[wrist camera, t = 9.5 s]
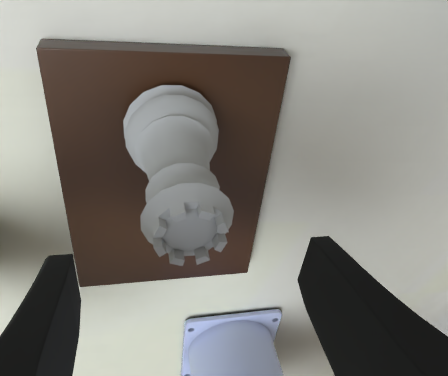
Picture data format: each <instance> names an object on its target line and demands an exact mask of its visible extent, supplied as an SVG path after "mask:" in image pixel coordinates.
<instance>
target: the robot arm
mask: <svg viewBox="0 0 448 376" xmlns="http://www.w3.org/2000/svg"><path fill="white" fill-rule="evenodd" d="M298 283H299V287H300V290H301V294H302V298H303V301H304V304H305V307H306V310H307V313H308V315H309V317H310V320H311V322H312V324H313V327H314V329H315V331H316V334H317V336H318V338H319V340H320V343H321V345H322V347H323V349H324V352H325V354H326V356H327V359H328V361H329V363H330V365H331V368H332V370H333V372H334V375H335V376H448V337H447V336H446V335H445V334H443V333H442V332H441V331H439V330H438V329H436V328H435V327H434V326H432V325H431V324H429V323H428V322H427V321H425V320H424V319H423V318H421V317H420V316H419V315H417V314H416V313H415V312H414V311H412V310H411V309H410V308H409V307H407V306H406V305H405V304H404V303H402V302H401V301H400V300H399V299H398V298H396V297H395V296H394V295H393V294H392V293H390V292H389V291H388V290H387V289H386V288H385V287H383V286H382V285H381V284H380V283H379V282H378V281H377V280H376V279H374V278H373V277H372V276H371V275H370V274H369V273H368V272H367V271H366V270H365V269H364V268H362V267H361V266H360V265H359V264H358V263H357V262H356V261H355V260H354V259H353V258H352V257H351V256H350V255H349V254H348V253H346V252H345V251H344V250H343V249H342V248H341V247H340V246H339V245H338V244H337V243H336V242H335V241H334V240H332V239H331V238H330V237H329V236H323V237H311V239H310V242H309V246H308V249H307V252H306V255H305V258H304V261H303V264H302V267H301V271H300V274H299V277H298ZM80 309H81V298H80V292H79V287H78V281H77V276H76V271H75V265H74V260H73V255H72V254H66V255H52V256H48V257H47V258H46V259H45V261H44V263H43V265H42V267H41V269H40V271H39V273H38V275H37V277H36V279H35V281H34V282H33V284H32V286H31V288H30V289H29V291H28V293H27V295H26V296H25V298H24V300H23V301H22V303H21V305H20V306H19V308H18V309H17V311H16V313H15V314H14V316H13V317H12V319H11V321H10V322H9V324H8V325H7V327H6V328H5V330H4V331H3V333H2V334H1V336H0V376H72V374H73V368H74V362H75V356H76V350H77V344H78V338H79V327H80ZM281 317H282V313H281V311H280V310H279V309H273V310H264V311H254V312H245V313H236V314H227V315H218V316H209V317H200V318H191V319H188V320H186V321H185V323H184V338H183V353H182V368H181V376H284V375H283V371H282V368H281V365H280V362H279V359H278V356H277V353H276V350H275V346H274V343H273V342H274V339H275V336H276V333H277V330H278V326H279V323H280V320H281Z"/></svg>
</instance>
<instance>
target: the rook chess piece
mask: <svg viewBox="0 0 448 376" xmlns="http://www.w3.org/2000/svg"><path fill="white" fill-rule="evenodd" d="M123 125H124V138H125V143H126V148H127V150H128V152H129V154H130V155H131V157H132V159H133V161H134V163H135V164H136V165H137V166H138V167H139V168H141V169H142V170H143V171H144V172H145V173H147V176H148V180H149V183H148V185H147V187H146V189H145V192H146V203H147V204H146V206H145V208H144V210H143V212H142V214H141V216H140V218H141V231H142V232H143V234H144V236H145V237H146V239H147V240H148V242H150V243H151V244H153V248H154V250H155V251H156V253H157V254H158V256H159V257H161V256H162V255H164V254H166V253H168V254H169V262H170V264H175V265H180V266H183V264H184V261H185V259H184V256H193V255H195V258H196V263H197V265H198V264H201V263H204V262H206V261H209V260H210V258H209V253H208V250H210V249H211V248H212V247H214V250H216V251H219V252H221V251H222V250H223V248H224V247H225V245H226V244H227V239H226V236H225V234H226V233H227V232H229V231H228V229H229V228H230V226H231V225H232V220H233V213H234V210H233V207H232V205H231V202H230V200H229V198H228V197H227V196H226V195H225V194H223V193H222V192H221V191H220V190H219V188H220V186H219V184H218V181H217V179H216V176H215V175H214V174H213V173H212V172H210V164H209V162H210V160H211V159H212V157H213V155H214V153H215V151H216V150H217V143H218V133H219V129H218V126H217V119H216V117H215V114H214V111H213V108H212V105H211V104H210V103H209V102H208V101H207V100H206V99H205V98H204V97H203V96H202V95H201V94H200V93H199V92H197V91H194V90H192V89H189V88H187V87H184V86H182V85H161V86H158V87H156V88H153V89H150V90H148V91H145V92H143V93H142V94H141V95H140V96H139V97H138V98H137V99H136V100H135V101H133V102H132V103H131V104H130V106H129V108H128V111H127V113H126V116H125V118H124V120H123Z"/></svg>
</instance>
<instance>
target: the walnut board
mask: <svg viewBox="0 0 448 376" xmlns="http://www.w3.org/2000/svg"><path fill="white" fill-rule="evenodd" d="M36 50H37V55H38V61H39V66H40V72H41V77H42V83H43V88H44V94H45V99H46V105H47V110H48V116H49V121H50V126H51V132H52V137H53V143H54V148H55V154H56V159H57V165H58V170H59V176H60V181H61V187H62V192H63V198H64V203H65V209H66V214H67V219H68V225H69V230H70V236H71V241H72V247H73V252H74V258H75V263H76V269H77V274H78V280H79V285H80V287H87V286H98V285H110V284H121V283H133V282H144V281H156V280H167V279H179V278H190V277H202V276H213V275H225V274H236V273H247V272H248V267H249V262H250V257H251V252H252V247H253V242H254V237H255V232H256V227H257V222H258V217H259V212H260V207H261V202H262V197H263V193H264V188H265V183H266V178H267V173H268V168H269V163H270V158H271V153H272V148H273V143H274V138H275V133H276V128H277V123H278V118H279V113H280V108H281V103H282V98H283V93H284V88H285V83H286V78H287V73H288V68H289V63H290V59H291V57H290V56H289V54H288V53H287V52H286V51H285V50H284V49H281V48H256V47H231V46H205V45H180V44H155V43H130V42H105V41H79V40H54V39H41V40H40V42H39V44H38V46H37V48H36ZM161 85H182V86H184V87H187V88H189V89H192V90H194V91H197V92H199V93H200V94H201V95H202V96H203V97H204V98H205V99H206V100H207V101H208V102H209V103H210V104H211V105H212V108H213V111H214V114H215V117H216V119H217V126H218V129H219V133H218V143H217V150H216V151H215V153H214V155H213V157H212V159H211V160H210V162H209V164H210V172H212V173H213V174H214V175H215V176H216V179H217V181H218V184H219V186H220V188H219V190H220V191H221V192H222V193H223V194H225V195H226V196H227V197H228V198H229V200H230V202H231V205H232V207H233V210H234V213H233V220H232V225H231V226H230V228H229V229H228V231H229V232H227V233H226V234H225V236H226V239H227V244H226V245H225V247H224V248H223V250H222V251H221V252H219V251H216V250H214V247H212V248H211V249H210V250H208V253H209V258H210V260H209V261H206V262H204V263H201V264H198V265H197V263H196V258H195V255H193V256H184V259H185V261H184V264H183V266H180V265H175V264H170V262H169V254H168V253H166V254H164V255H162V256H161V257H159V256H158V254H157V253H156V251H155V250H154V248H153V244H151V243H150V242H148V240H147V239H146V237H145V236H144V234H143V232H142V231H141V218H140V216H141V214H142V212H143V210H144V208H145V206H146V204H147V203H146V192H145V189H146V187H147V185H148V183H149V180H148V176H147V173H145V172H144V171H143V170H142V169H141V168H139V167H138V166H137V165H136V164H135V163H134V161H133V159H132V157H131V155H130V154H129V152H128V150H127V148H126V143H125V138H124V125H123V120H124V118H125V116H126V113H127V111H128V108H129V106H130V104H131V103H132V102H133V101H135V100H136V99H137V98H138V97H139V96H140V95H141V94H142V93H143V92H145V91H148V90H150V89H153V88H156V87H158V86H161Z"/></svg>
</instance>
